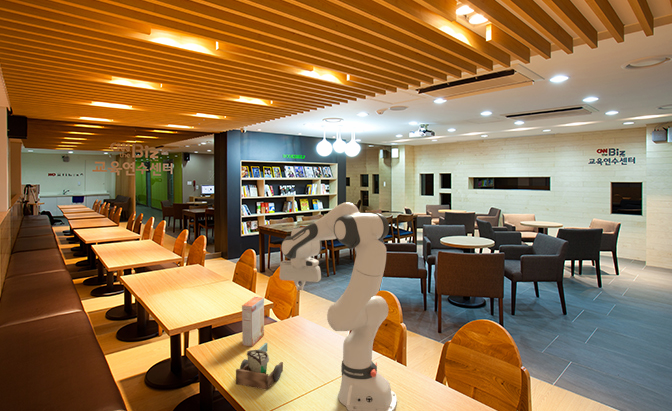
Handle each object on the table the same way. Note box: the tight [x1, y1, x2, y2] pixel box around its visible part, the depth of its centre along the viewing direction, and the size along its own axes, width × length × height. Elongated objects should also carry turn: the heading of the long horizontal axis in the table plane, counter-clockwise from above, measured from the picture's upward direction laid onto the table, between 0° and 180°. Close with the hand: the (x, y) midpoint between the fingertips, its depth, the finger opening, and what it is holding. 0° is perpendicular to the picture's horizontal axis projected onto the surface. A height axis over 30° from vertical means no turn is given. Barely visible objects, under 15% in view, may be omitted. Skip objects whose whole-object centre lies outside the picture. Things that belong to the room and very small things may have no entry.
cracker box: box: [241, 296, 265, 347], centre depth 186 cm, size 14×6×21 cm, turn 166°
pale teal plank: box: [257, 342, 268, 353], centre depth 168 cm, size 14×1×4 cm, turn 164°
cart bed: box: [235, 358, 284, 391], centre depth 152 cm, size 16×15×6 cm
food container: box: [246, 349, 270, 374], centre depth 152 cm, size 12×6×10 cm, turn 43°
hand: (300, 290), depth 171 cm, fingers closed
